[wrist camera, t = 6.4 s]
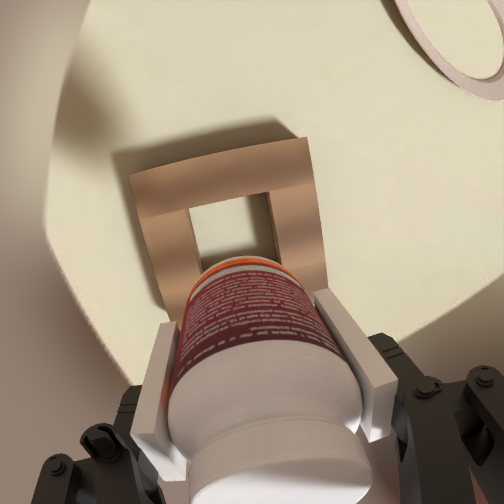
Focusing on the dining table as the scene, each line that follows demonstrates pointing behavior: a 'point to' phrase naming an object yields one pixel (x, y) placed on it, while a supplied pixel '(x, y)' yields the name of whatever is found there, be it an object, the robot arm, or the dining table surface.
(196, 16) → the dining table surface
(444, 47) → the dining table surface
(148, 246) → the socket block
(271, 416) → the pill bottle
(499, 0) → the plate
